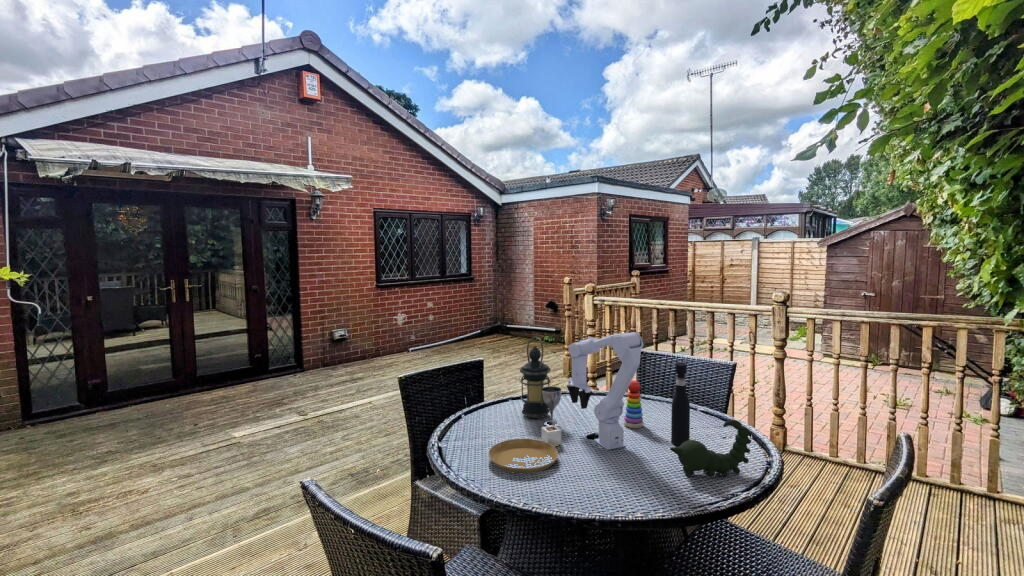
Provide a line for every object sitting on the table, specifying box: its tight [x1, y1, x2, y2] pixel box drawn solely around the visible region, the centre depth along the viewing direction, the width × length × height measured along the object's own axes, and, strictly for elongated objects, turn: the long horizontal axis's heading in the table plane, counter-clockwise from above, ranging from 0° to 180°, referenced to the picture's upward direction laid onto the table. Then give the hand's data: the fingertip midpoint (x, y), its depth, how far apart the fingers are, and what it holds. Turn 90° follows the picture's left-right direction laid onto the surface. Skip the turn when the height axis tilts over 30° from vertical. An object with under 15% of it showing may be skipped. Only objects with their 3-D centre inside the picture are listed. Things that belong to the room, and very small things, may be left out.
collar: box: [541, 425, 562, 445], centre depth 178 cm, size 6×6×5 cm
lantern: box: [519, 336, 551, 419], centre depth 207 cm, size 14×13×35 cm
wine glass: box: [542, 385, 562, 425], centre depth 197 cm, size 8×8×15 cm
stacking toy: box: [623, 379, 645, 429], centre depth 194 cm, size 8×8×19 cm
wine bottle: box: [670, 362, 691, 447], centre depth 175 cm, size 6×6×30 cm
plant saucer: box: [487, 438, 559, 474], centre depth 164 cm, size 24×24×3 cm
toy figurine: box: [669, 419, 752, 479], centre depth 151 cm, size 9×19×25 cm
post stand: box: [549, 429, 561, 448], centre depth 178 cm, size 7×7×6 cm
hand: (579, 405), depth 189 cm, fingers open, 7 cm apart
